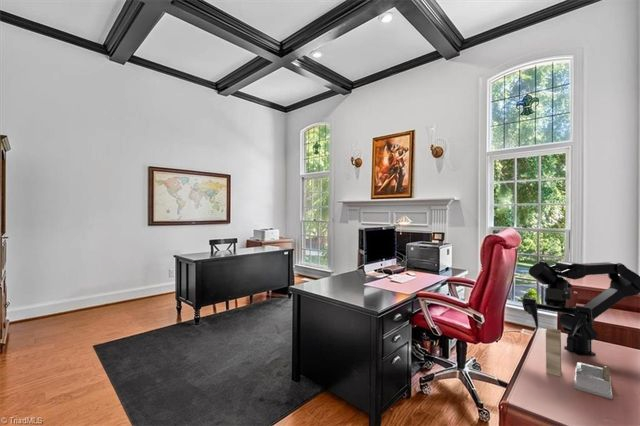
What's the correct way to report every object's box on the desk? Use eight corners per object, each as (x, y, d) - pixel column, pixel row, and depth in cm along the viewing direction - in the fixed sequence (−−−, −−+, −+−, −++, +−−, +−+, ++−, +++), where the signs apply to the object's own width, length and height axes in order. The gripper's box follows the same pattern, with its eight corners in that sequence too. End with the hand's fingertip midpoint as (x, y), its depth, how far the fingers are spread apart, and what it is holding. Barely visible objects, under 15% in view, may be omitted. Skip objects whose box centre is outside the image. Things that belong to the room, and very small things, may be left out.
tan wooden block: (547, 367, 100) (547, 327, 100) (561, 370, 97) (560, 330, 97) (546, 372, 96) (545, 331, 96) (560, 376, 94) (559, 334, 94)
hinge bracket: (575, 369, 98) (575, 353, 98) (610, 378, 93) (609, 361, 93) (573, 388, 88) (573, 370, 88) (612, 399, 82) (612, 380, 82)
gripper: (522, 275, 111) (517, 312, 103) (591, 282, 98) (590, 326, 90) (527, 292, 117) (521, 329, 109) (592, 301, 104) (591, 344, 96)
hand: (553, 331), depth 101 cm, fingers open, 9 cm apart
